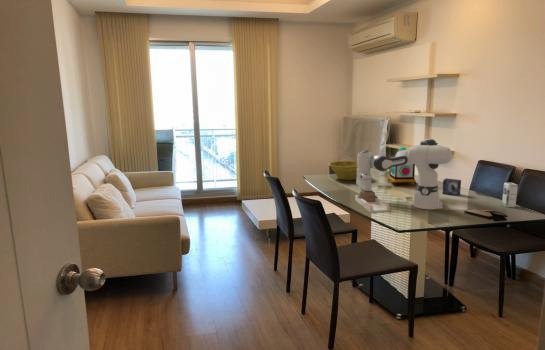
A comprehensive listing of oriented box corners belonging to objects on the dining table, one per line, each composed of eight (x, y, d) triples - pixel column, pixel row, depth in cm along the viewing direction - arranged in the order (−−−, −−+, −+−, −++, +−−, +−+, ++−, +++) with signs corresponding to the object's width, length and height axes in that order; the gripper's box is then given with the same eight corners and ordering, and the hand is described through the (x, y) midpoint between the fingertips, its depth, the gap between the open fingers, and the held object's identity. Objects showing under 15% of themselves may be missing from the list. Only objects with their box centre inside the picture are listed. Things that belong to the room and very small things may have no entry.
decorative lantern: (418, 186, 304) (420, 148, 298) (392, 186, 304) (393, 148, 299) (409, 181, 324) (411, 145, 318) (385, 181, 324) (386, 145, 318)
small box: (441, 194, 279) (442, 179, 277) (445, 192, 284) (446, 178, 282) (457, 196, 272) (458, 181, 270) (460, 194, 277) (461, 179, 275)
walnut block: (359, 199, 264) (360, 191, 263) (371, 199, 265) (371, 190, 264) (362, 202, 258) (362, 193, 257) (374, 201, 259) (375, 192, 258)
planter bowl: (324, 176, 353) (324, 161, 350) (359, 174, 356) (359, 159, 354) (334, 183, 321) (334, 167, 319) (372, 181, 325) (372, 165, 322)
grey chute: (355, 200, 268) (355, 194, 267) (372, 199, 269) (372, 193, 268) (370, 212, 239) (370, 205, 238) (389, 211, 240) (389, 204, 239)
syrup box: (501, 204, 248) (503, 182, 245) (510, 204, 248) (512, 182, 245) (506, 207, 243) (508, 184, 240) (516, 207, 242) (518, 184, 240)
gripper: (354, 171, 277) (353, 190, 280) (363, 177, 257) (363, 197, 260) (362, 171, 278) (362, 190, 280) (373, 176, 258) (372, 197, 260)
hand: (363, 193), depth 270 cm, fingers closed
